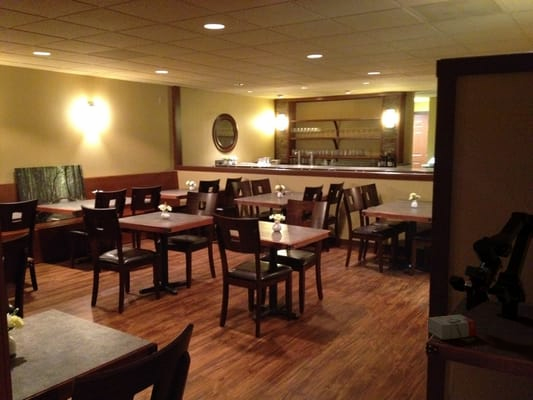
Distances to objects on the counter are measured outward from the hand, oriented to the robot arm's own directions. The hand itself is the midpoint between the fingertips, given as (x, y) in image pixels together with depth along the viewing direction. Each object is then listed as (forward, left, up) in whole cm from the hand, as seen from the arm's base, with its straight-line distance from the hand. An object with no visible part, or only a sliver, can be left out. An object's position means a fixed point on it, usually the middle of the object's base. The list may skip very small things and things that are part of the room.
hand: (467, 310), depth 147 cm
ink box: (-3, -1, -6) cm, 7 cm away
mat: (+1, 0, -9) cm, 9 cm away
